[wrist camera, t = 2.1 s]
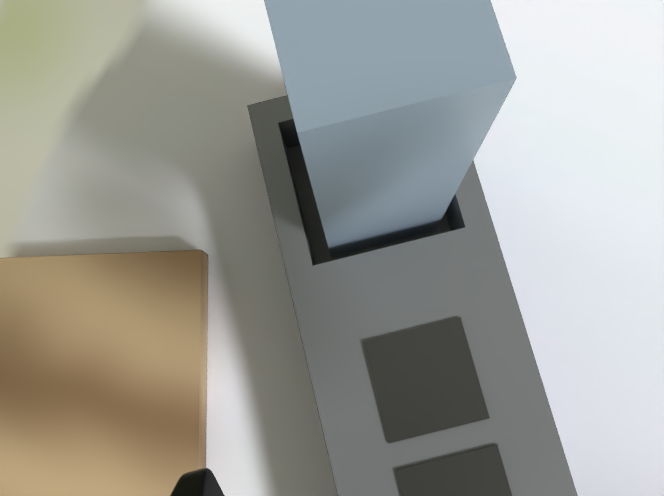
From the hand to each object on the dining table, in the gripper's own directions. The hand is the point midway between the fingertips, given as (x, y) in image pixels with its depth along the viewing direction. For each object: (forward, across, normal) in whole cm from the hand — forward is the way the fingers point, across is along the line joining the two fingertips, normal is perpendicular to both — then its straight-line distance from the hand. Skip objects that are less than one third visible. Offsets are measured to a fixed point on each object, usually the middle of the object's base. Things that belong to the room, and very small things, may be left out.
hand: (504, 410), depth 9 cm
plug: (+14, 0, +4) cm, 14 cm away
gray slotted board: (+10, 0, +8) cm, 13 cm away
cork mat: (+11, +13, +8) cm, 19 cm away
